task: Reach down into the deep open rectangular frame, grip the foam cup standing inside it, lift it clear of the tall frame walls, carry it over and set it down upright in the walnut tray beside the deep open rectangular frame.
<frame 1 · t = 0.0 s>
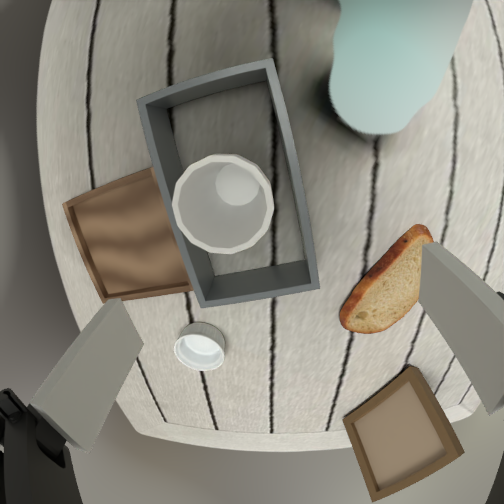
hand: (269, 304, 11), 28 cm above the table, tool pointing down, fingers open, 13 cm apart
walnut tray: (129, 238, 41), on the table
ramekin: (203, 337, 48), on the table
foam cup: (237, 183, 37), on the table
bread slice: (386, 280, 42), on the table
deep open rectangular frame: (237, 183, 37), on the table
photo frame: (391, 398, 54), on the table
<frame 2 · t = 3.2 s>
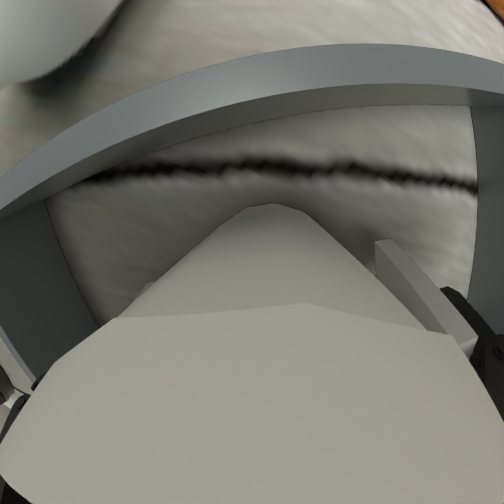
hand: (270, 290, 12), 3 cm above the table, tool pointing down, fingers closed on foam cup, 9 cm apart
foam cup: (270, 262, 14), on the table, touching gripper
deep open rectangular frame: (270, 264, 14), on the table
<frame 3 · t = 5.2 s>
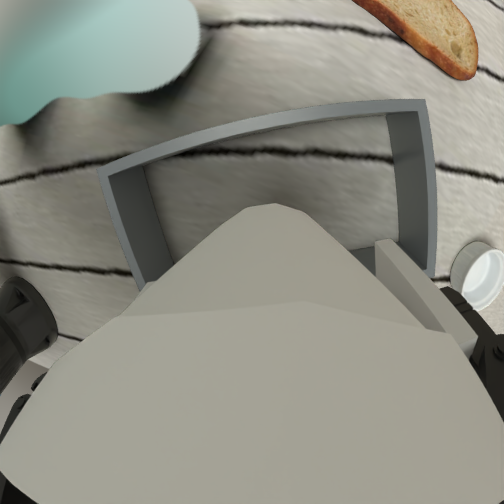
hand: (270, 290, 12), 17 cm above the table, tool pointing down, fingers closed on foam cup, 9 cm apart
ramekin: (469, 266, 29), on the table
foam cup: (270, 261, 14), point 14 cm above the table, touching gripper
bread slice: (405, 13, 18), on the table
deep open rectangular frame: (276, 200, 28), on the table
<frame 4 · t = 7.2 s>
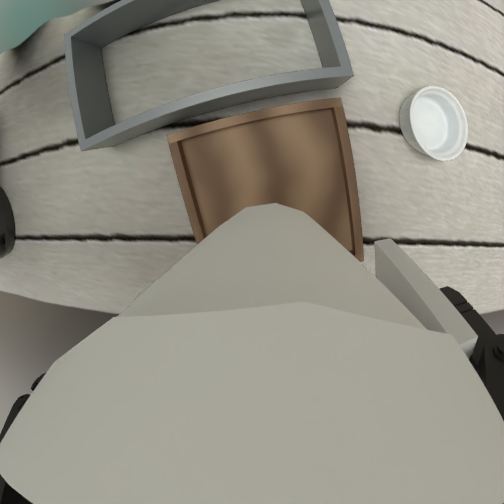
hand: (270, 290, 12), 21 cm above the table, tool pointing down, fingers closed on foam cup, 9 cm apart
walnut tray: (271, 193, 31), on the table
ramekin: (423, 123, 26), on the table
foam cup: (270, 261, 14), point 19 cm above the table, touching gripper
deep open rectangular frame: (201, 51, 25), on the table
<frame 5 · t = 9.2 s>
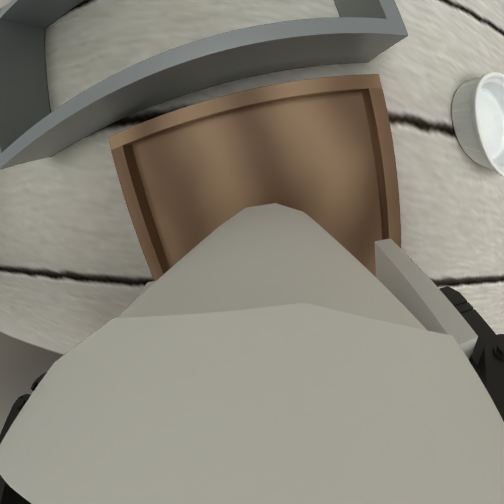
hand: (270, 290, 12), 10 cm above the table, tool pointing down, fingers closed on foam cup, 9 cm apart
walnut tray: (269, 221, 21), on the table
ramekin: (478, 122, 16), on the table
foam cup: (270, 262, 14), point 7 cm above the table, touching gripper
deep open rectangular frame: (164, 13, 14), on the table
when the fingers open (5 cm above the table, at t = 11.2 s): foam cup drops 1 cm, resting on walnut tray.
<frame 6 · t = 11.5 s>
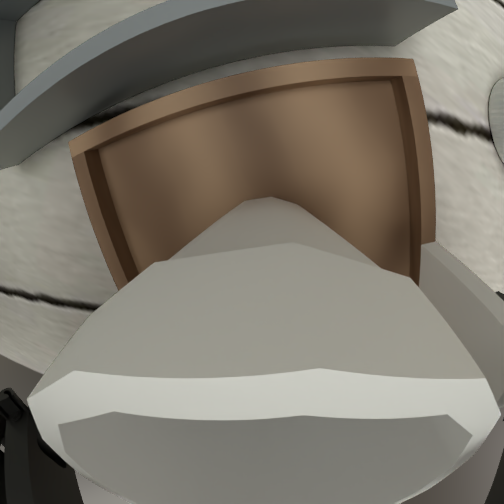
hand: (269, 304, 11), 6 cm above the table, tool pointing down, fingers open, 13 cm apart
walnut tray: (270, 245, 16), on the table
foam cup: (267, 251, 16), point 1 cm above the table, touching walnut tray
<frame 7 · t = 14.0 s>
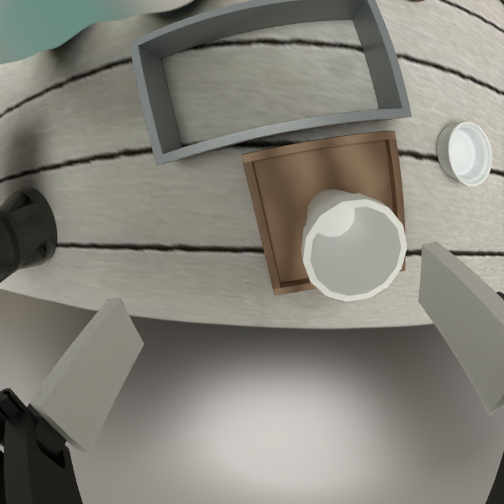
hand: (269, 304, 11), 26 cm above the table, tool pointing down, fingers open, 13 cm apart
walnut tray: (331, 211, 35), on the table
ramekin: (455, 151, 29), on the table
foam cup: (331, 212, 34), point 1 cm above the table, touching walnut tray
deep open rectangular frame: (269, 74, 29), on the table
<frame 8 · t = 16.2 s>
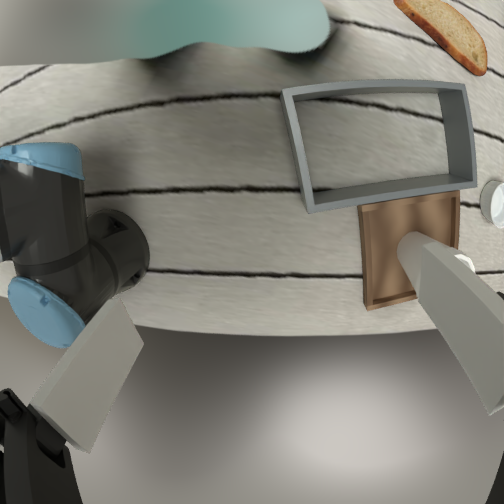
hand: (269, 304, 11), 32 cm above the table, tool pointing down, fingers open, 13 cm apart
walnut tray: (410, 246, 42), on the table
ramekin: (490, 199, 37), on the table
foam cup: (411, 248, 41), point 1 cm above the table, touching walnut tray
bread slice: (444, 32, 26), on the table
deep open rectangular frame: (380, 137, 36), on the table
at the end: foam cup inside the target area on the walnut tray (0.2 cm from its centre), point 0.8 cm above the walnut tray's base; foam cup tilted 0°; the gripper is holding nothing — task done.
